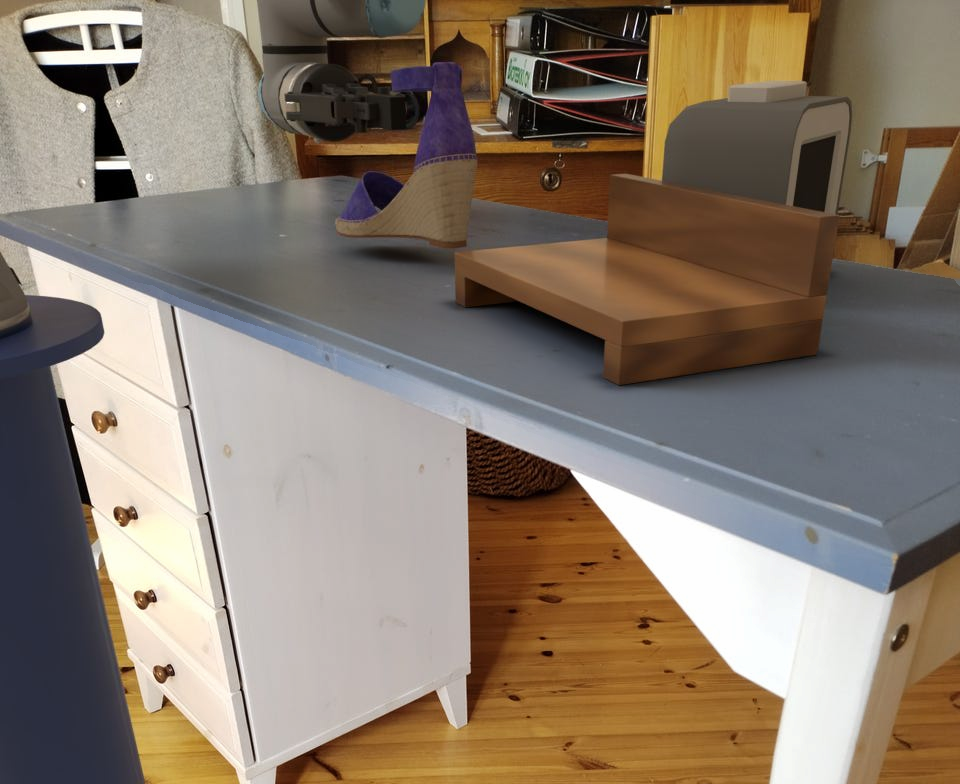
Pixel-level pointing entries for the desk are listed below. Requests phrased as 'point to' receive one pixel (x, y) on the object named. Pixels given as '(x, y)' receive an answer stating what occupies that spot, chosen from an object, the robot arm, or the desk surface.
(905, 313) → the desk surface
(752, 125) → the alarm clock
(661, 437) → the desk surface
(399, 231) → the sandal
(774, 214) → the shoe rack
